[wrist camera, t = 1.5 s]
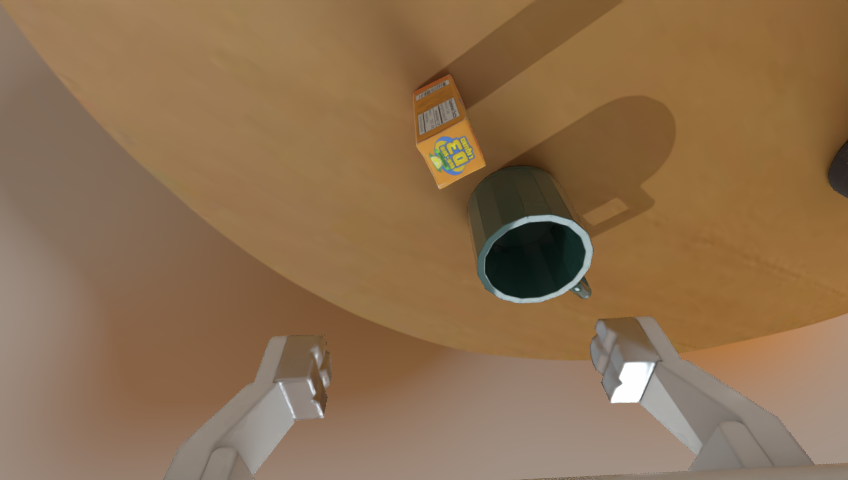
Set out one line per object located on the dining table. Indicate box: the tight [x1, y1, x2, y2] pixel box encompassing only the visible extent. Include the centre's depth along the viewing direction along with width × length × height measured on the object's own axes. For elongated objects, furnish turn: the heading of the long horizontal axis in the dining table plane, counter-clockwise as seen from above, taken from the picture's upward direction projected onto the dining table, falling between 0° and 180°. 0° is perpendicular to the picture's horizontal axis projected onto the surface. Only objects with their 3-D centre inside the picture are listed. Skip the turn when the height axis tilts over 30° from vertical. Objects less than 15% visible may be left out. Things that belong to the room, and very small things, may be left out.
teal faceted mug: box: [467, 166, 593, 303], centre depth 34 cm, size 12×8×8 cm
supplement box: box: [412, 74, 486, 189], centre depth 26 cm, size 3×3×10 cm
